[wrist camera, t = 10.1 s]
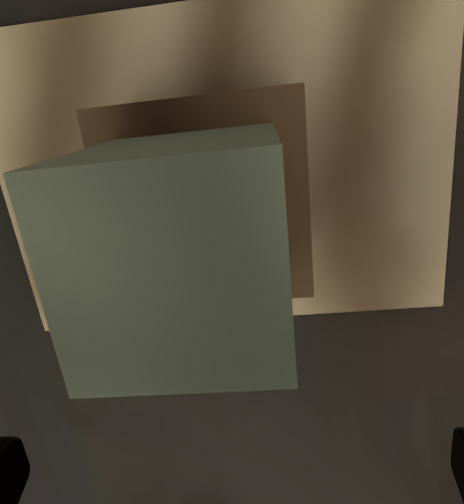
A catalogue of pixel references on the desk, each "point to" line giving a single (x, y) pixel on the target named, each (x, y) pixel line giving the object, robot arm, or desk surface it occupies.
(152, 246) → the sage block
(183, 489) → the desk surface
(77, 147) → the base plate
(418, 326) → the desk surface
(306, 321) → the desk surface
